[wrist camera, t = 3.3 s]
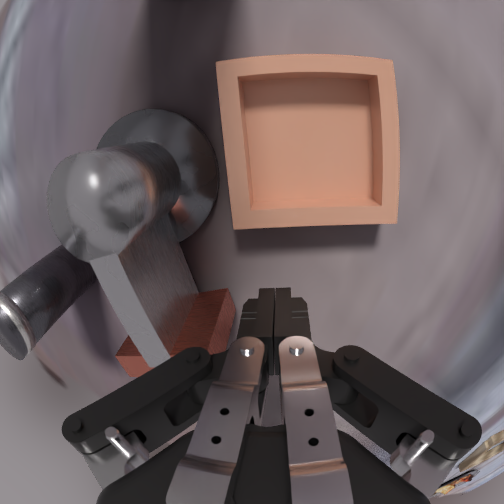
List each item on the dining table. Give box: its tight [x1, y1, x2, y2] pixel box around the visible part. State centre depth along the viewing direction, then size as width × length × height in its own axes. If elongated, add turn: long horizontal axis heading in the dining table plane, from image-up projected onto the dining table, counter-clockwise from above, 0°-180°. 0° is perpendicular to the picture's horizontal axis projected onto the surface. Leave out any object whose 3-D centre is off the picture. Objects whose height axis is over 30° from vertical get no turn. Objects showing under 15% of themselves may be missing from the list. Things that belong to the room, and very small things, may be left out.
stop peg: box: [0, 245, 96, 360], centre depth 16 cm, size 4×4×10 cm
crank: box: [47, 141, 236, 377], centre depth 14 cm, size 12×6×6 cm, turn 15°
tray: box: [216, 54, 400, 229], centre depth 13 cm, size 9×9×2 cm
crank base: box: [97, 109, 219, 242], centre depth 16 cm, size 9×9×1 cm
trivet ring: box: [459, 430, 504, 472], centre depth 33 cm, size 21×18×2 cm
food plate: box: [432, 470, 480, 497], centre depth 48 cm, size 25×23×4 cm
